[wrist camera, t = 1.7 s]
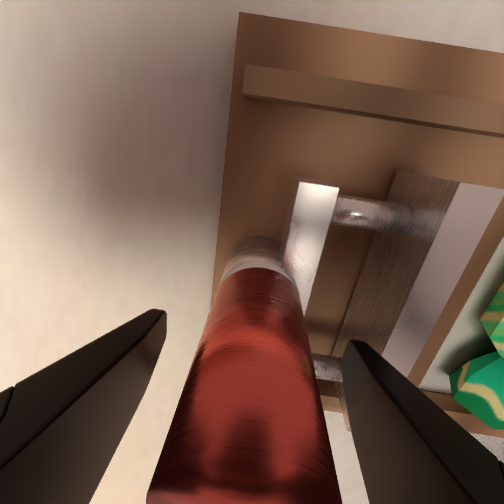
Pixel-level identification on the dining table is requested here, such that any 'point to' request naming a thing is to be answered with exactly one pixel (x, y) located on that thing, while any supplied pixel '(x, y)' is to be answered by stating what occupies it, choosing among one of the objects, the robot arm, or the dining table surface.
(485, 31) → the dining table surface
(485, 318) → the candy
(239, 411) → the lever
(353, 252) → the wooden vise
